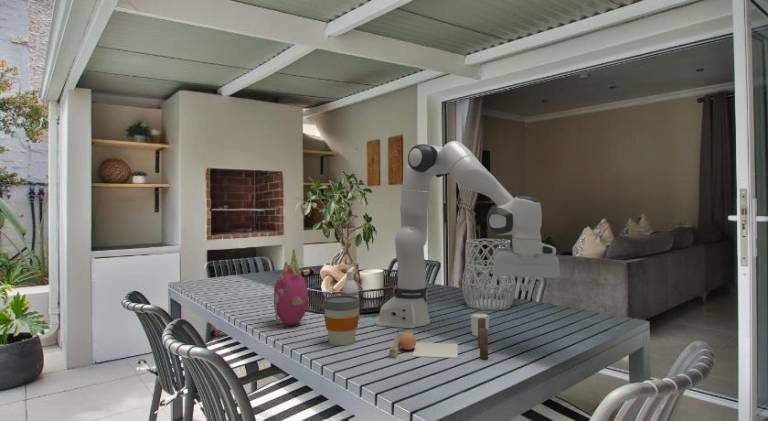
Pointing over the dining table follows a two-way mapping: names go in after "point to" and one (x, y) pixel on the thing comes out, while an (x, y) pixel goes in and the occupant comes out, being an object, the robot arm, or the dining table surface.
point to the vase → (466, 285)
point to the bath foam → (350, 286)
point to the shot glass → (475, 322)
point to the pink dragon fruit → (290, 294)
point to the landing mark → (436, 350)
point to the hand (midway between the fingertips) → (525, 290)
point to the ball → (407, 341)
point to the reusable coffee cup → (341, 319)
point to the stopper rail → (395, 346)
